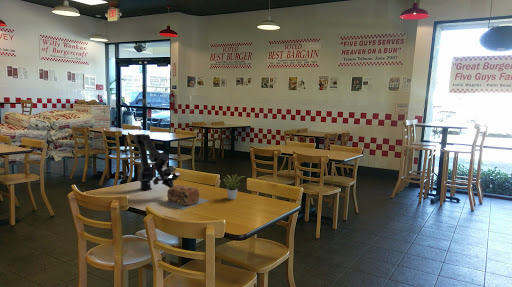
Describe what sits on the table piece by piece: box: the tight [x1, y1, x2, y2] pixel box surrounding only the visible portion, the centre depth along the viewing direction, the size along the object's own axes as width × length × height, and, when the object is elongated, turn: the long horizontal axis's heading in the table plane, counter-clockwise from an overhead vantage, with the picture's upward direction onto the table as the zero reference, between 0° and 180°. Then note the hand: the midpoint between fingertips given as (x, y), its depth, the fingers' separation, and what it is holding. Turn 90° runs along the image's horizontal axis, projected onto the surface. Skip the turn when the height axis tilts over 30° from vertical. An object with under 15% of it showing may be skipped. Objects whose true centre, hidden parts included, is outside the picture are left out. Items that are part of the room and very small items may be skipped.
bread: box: [166, 184, 200, 206], centre depth 224 cm, size 19×11×10 cm, turn 51°
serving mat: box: [161, 197, 210, 211], centre depth 225 cm, size 18×24×1 cm
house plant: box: [222, 173, 245, 200], centre depth 237 cm, size 14×14×16 cm
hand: (173, 188), depth 230 cm, fingers closed
